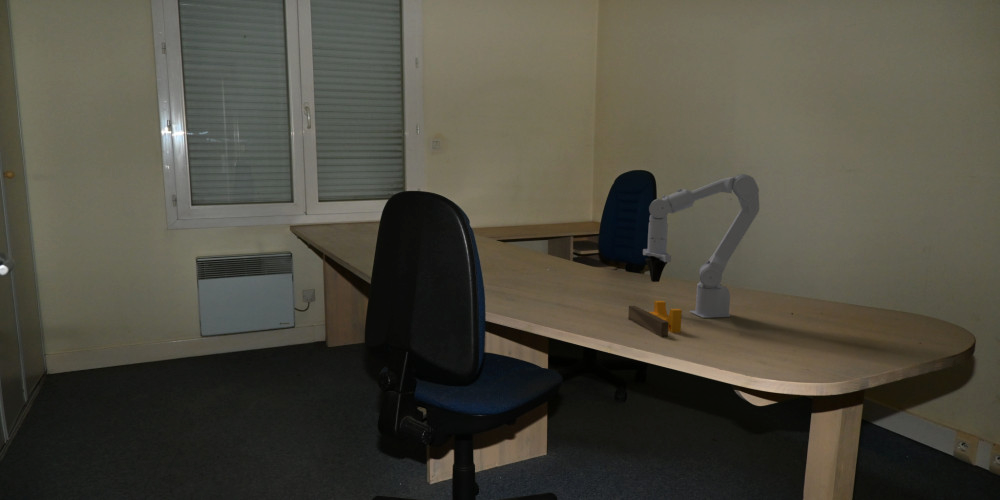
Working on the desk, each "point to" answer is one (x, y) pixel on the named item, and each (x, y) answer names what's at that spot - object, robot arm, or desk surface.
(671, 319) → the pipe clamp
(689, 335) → the desk surface
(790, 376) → the desk surface
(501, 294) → the desk surface
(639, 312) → the rail
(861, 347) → the desk surface
